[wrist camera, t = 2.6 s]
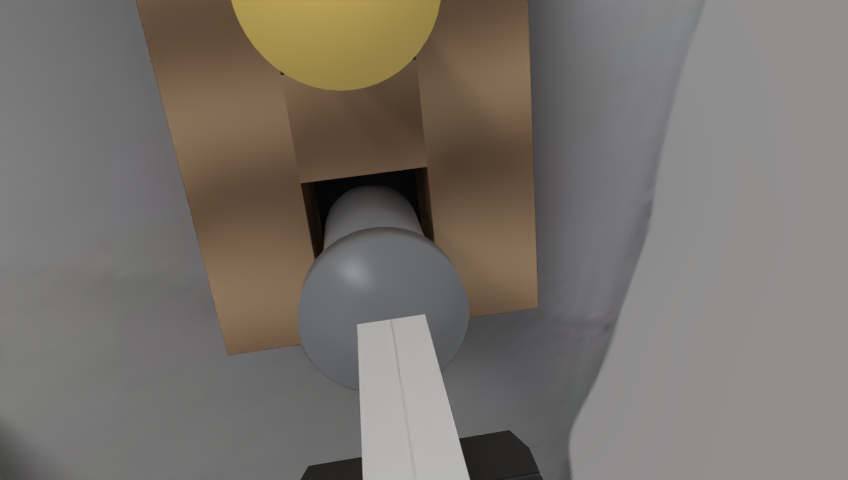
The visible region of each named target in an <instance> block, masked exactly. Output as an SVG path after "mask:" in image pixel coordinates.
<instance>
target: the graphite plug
mask: <svg viewBox="0 0 848 480" xmlns="http://www.w3.org/2000/svg"><path fill="white" fill-rule="evenodd" d="M423 314H425V316H426V320H427V324H428V327H429V331H430V335H431V339H432V342H433V346H434V350H435V353H436V357H437V361H438V364H439V368H440V372H441V371H442V370H443V369H444V368H445V367H446V366H447V365H448V364H449V363H450V362H451V361H452V359H453V358H454V357H455V356H456V354H457V353H458V351H459V349H460V348H461V346H462V344H463V341H464V339H465V337H466V333H467V329H468V324H469V302H468V297H467V294H466V291H465V288H464V286H463V283H462V281H461V279H460V277H459V275H458V272H457V270H456V268H455V266H454V264H453V263H452V261H451V260H450V258H449V257H448V255H447V254H446V253H445V252H444V251H443V250H442V249H441V248H440V247H439V246H438V245H436V244H435V243H434V242H433V241H431V240H429V239H428V238H426V237H425V236H424V234H423V232H422V229H421V226H420V224H419V221H418V218H417V216H416V213H415V211H414V209H413V207H412V205H411V204H410V202H409V201H408V200H407V199H406V198H405V197H404V196H403V195H402V194H400V193H399V192H397V191H396V190H393V189H391V188H389V187H386V186H381V185H364V186H359V187H356V188H353V189H351V190H349V191H347V192H346V193H344V194H343V195H342V196H341V197H339V198H338V199H337V200H336V202H335V203H334V204H333V206H332V207H331V209H330V211H329V213H328V216H327V219H326V224H325V237H324V249H323V252H322V253H321V254H320V255H319V256H318V257H317V258H316V259H315V261H314V262H313V264H312V265H311V267H310V269H309V271H308V273H307V275H306V277H305V280H304V283H303V286H302V291H301V297H300V303H299V310H298V330H299V335H300V339H301V342H302V345H303V347H304V349H305V352H306V354H307V355H308V357H309V358H310V360H311V361H312V362H313V364H314V365H315V366H316V367H317V368H318V369H319V370H320V371H321V372H322V373H323V374H324V375H326V376H327V377H329V378H330V379H332V380H333V381H335V382H337V383H339V384H341V385H343V386H345V387H348V388H351V389H353V390H358V391H360V388H359V360H358V333H357V324H363V323H370V322H376V321H383V320H390V319H396V318H403V317H410V316H416V315H423Z"/></svg>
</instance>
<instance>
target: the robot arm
mask: <svg viewBox="0 0 848 480" xmlns="http://www.w3.org/2000/svg"><path fill="white" fill-rule="evenodd" d="M357 333H358V360H359V388H360V415H361V442H362V457H359V458H353V459H347V460H341V461H336V462H330V463H324V464H318V465H312V466H309V467H308V468H307V470H306V472H305V473H304V475H303V477H302V478H301V480H543V479H542V477H541V476H540V473H539V470H538V467H537V465H536V463H535V460H534V458H533V456H532V453H531V451H530V449H529V447H527V446H526V445H525V444H524V443H523V442H522V441H521V440H520V439H518V438H517V437H516V436H515V435H514V434H513V433H512V432H511V431H509V430H508V431H502V432H496V433H490V434H484V435H478V436H472V437H466V438H460V439H459V438H458V434H457V431H456V427H455V423H454V420H453V416H452V412H451V408H450V405H449V401H448V397H447V394H446V390H445V386H444V383H443V379H442V375H441V372H440V368H439V364H438V361H437V357H436V353H435V350H434V346H433V342H432V339H431V335H430V331H429V327H428V324H427V320H426V316H425V314H423V315H416V316H410V317H403V318H396V319H390V320H383V321H376V322H370V323H363V324H357Z"/></svg>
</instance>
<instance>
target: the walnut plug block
mask: <svg viewBox="0 0 848 480" xmlns="http://www.w3.org/2000/svg"><path fill="white" fill-rule="evenodd" d="M136 3H137V7H138V10H139V14H140V18H141V22H142V26H143V30H144V34H145V37H146V41H147V45H148V49H149V53H150V57H151V61H152V64H153V68H154V72H155V76H156V80H157V84H158V88H159V91H160V95H161V99H162V103H163V107H164V111H165V115H166V118H167V122H168V126H169V130H170V134H171V138H172V141H173V145H174V149H175V153H176V157H177V161H178V165H179V168H180V172H181V176H182V180H183V184H184V188H185V192H186V195H187V199H188V203H189V207H190V211H191V215H192V219H193V222H194V226H195V230H196V234H197V238H198V242H199V246H200V249H201V253H202V257H203V261H204V265H205V269H206V273H207V276H208V280H209V284H210V288H211V292H212V296H213V300H214V303H215V307H216V311H217V315H218V319H219V323H220V327H221V330H222V334H223V338H224V342H225V346H226V350H227V354H228V355H235V354H241V353H248V352H254V351H260V350H267V349H273V348H280V347H286V346H293V345H299V344H302V342H301V339H300V335H299V330H298V310H299V303H300V297H301V291H302V286H303V283H304V280H305V277H306V275H307V273H308V271H309V269H310V267H311V265H312V264H313V262H314V261H315V259H316V258H317V257H318V256H319V255H320V254H321V253H322V252H323V249H324V239H323V233H322V228H321V222H320V216H319V211H318V205H317V199H316V193H315V188H314V182H315V181H322V180H330V179H337V178H345V177H353V176H360V175H368V174H375V173H383V172H391V171H398V170H406V169H414V168H415V176H416V185H417V194H418V204H419V213H420V222H421V229H422V232H423V234H424V236H425V237H426V238H428V239H429V240H431V241H433V242H434V243H435V244H436V245H438V246H439V247H440V248H441V249H442V250H443V251H444V252H445V253H446V254H447V255H448V257H449V258H450V260H451V261H452V263H453V264H454V266H455V268H456V270H457V272H458V275H459V277H460V279H461V281H462V283H463V286H464V288H465V291H466V294H467V297H468V302H469V318H474V317H481V316H487V315H493V314H500V313H506V312H513V311H519V310H526V309H532V308H538V287H537V257H536V227H535V197H534V167H533V137H532V107H531V77H530V47H529V17H528V0H441V2H440V6H439V11H438V15H437V18H436V21H435V24H434V26H433V29H432V31H431V33H430V35H429V37H428V39H427V41H426V42H425V44H424V45H423V47H422V48H421V50H420V51H419V52H418V54H417V55H416V56H415V57H414V58H413V59H412V60H411V62H409V63H408V64H407V65H406V66H405V67H404V68H403V69H402V70H400V71H399V72H397V73H396V74H394V75H393V76H391V77H390V78H388V79H386V80H384V81H382V82H380V83H378V84H375V85H372V86H369V87H366V88H361V89H355V90H343V91H337V90H326V89H321V88H316V87H312V86H309V85H307V84H304V83H301V82H299V81H297V80H295V79H293V78H291V77H289V76H287V75H286V74H284V73H283V72H281V71H280V70H278V69H277V68H275V67H274V66H273V65H272V64H271V63H270V62H268V61H267V60H266V59H265V58H264V57H263V56H262V55H261V54H260V53H259V51H258V50H257V49H256V48H255V47H254V45H253V44H252V43H251V41H250V40H249V38H248V37H247V36H246V34H245V32H244V30H243V28H242V27H241V25H240V23H239V21H238V18H237V16H236V13H235V11H234V8H233V5H232V1H231V0H136Z"/></svg>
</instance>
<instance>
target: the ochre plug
mask: <svg viewBox="0 0 848 480" xmlns="http://www.w3.org/2000/svg"><path fill="white" fill-rule="evenodd" d="M231 1H232V5H233V8H234V11H235V13H236V16H237V18H238V21H239V23H240V25H241V27H242V28H243V30H244V32H245V34H246V36H247V37H248V38H249V40H250V41H251V43H252V44H253V45H254V47H255V48H256V49H257V50H258V51H259V53H260V54H261V55H262V56H263V57H264V58H265V59H266V60H267V61H268V62H270V63H271V64H272V65H273V66H274V67H275V68H277V69H278V70H280V71H281V72H283V73H284V74H286V75H287V76H289V77H291V78H293V79H295V80H297V81H299V82H301V83H304V84H307V85H309V86H312V87H316V88H321V89H326V90H337V91H343V90H355V89H361V88H366V87H369V86H372V85H375V84H378V83H380V82H382V81H384V80H386V79H388V78H390V77H391V76H393V75H394V74H396V73H397V72H399V71H400V70H402V69H403V68H404V67H405V66H406V65H407V64H408V63H409V62H411V60H412V59H413V58H414V57H415V56H416V55H417V54H418V52H419V51H420V50H421V48H422V47H423V45H424V44H425V42H426V41H427V39H428V37H429V35H430V33H431V31H432V29H433V26H434V24H435V21H436V18H437V15H438V11H439V6H440V2H441V0H231Z"/></svg>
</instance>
